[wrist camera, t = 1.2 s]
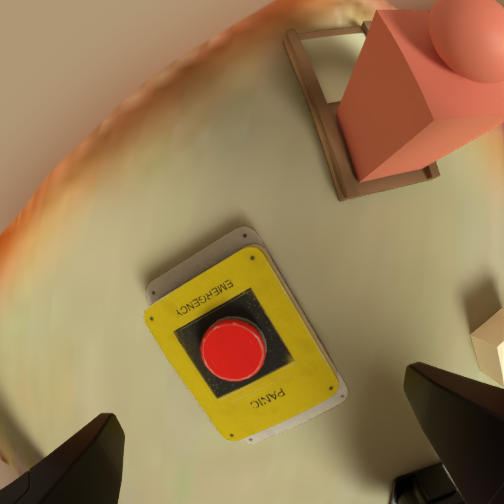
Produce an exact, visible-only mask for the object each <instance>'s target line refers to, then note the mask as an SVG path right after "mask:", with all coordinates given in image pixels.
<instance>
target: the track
mask: <svg viewBox="0 0 504 504" xmlns="http://www.w3.org/2000/svg"><path fill="white" fill-rule="evenodd" d="M371 23H372V22H371V21H363V24H362V26H361V27H351V28H340V29H331V30H322V31H314V32H307V33H301V34H297V32H296V30H295V29H289V30H286V36H283V44H284V46H285V48H286V51H287V53H288V55H289V58H290V60H291V63H292V65H293V68H294V70H295V72H296V75H297V77H298V80H299V83H300V85H301V88H302V90H303V93H304V95H305V98H306V101H307V103H308V106H309V109H310V112H311V114H312V117H313V120H314V123H315V126H316V128H317V131H318V134H319V137H320V140H321V143H322V146H323V149H324V152H325V155H326V158H327V161H328V165H329V168H330V171H331V174H332V178H333V181H334V184H335V187H336V191H337V194H338V198H339V201H344V200H348V199H352V198H356V197H361V196H365V195H369V194H373V193H377V192H381V191H385V190H390V189H394V188H398V187H402V186H407V185H411V184H415V183H419V182H424V181H428V180H432V179H434V178H436V177H438V176H440V173H439V170H438V167H437V164H436V161H435V162H433V163H431V164H429V165H428V166H426V167H424V168H422V169H419V170H414V171H409V172H405V173H400V174H396V175H391V176H387V177H382V178H378V179H373V180H369V181H365V182H360V183H359V182H358V179H357V176H356V173H355V170H354V166H353V163H352V160H351V157H350V154H349V151H348V148H347V145H346V142H345V140H344V137H343V134H342V131H341V128H340V126H339V123H338V120H337V117H336V115H335V114H336V112H337V109H338V107H339V104H340V102H341V99H342V97H343V95H344V92H345V90H346V87H347V85H348V82H349V80H350V77H351V74H352V72H353V69H354V67H355V64H356V62H357V59H358V57H359V54H360V52H361V49H362V46H363V44H364V41H365V39H366V36H367V33H368V31H369V28H370V26H371Z"/></svg>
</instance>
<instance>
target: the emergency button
mask: <svg viewBox="0 0 504 504" xmlns="http://www.w3.org/2000/svg"><path fill="white" fill-rule="evenodd" d="M146 296H147V299H148V302H149V304H150V306H149V307H148V308H147V309H146V310H145V313H144V320H145V323H146V325H147V326H148V328H149V330H150V332H151V333H152V335H153V336H154V338H155V340H156V341H157V343H158V345H159V346H160V348H161V349H162V351H163V353H164V354H165V356H166V357H167V359H168V361H169V362H170V364H171V365H172V367H173V368H174V370H175V371H176V373H177V374H178V376H179V377H180V379H181V380H182V382H183V383H184V385H185V386H186V388H187V389H188V390H189V392H190V393H191V395H192V396H193V398H194V399H195V400H196V402H197V403H198V405H199V406H200V407H201V409H202V410H203V412H204V413H205V414H206V416H207V417H208V418H209V420H210V421H211V422H212V424H213V425H214V426H215V428H216V429H217V430H218V432H219V433H220V434H221V435H222V437H224V438H225V439H226V440H230V441H238V440H242V441H243V442H245V443H249V444H254V443H258V442H261V441H263V440H266V439H268V438H270V437H273V436H275V435H277V434H280V433H282V432H284V431H286V430H289V429H291V428H293V427H295V426H297V425H299V424H302V423H304V422H306V421H308V420H310V419H312V418H314V417H316V416H318V415H320V414H322V413H324V412H326V411H328V410H330V409H332V408H333V407H335V406H337V405H339V404H341V403H342V402H343V401H344V400H345V399H346V398H347V395H348V390H347V386H346V384H345V382H344V381H343V379H342V377H341V375H340V374H339V372H338V370H337V368H336V367H335V365H334V363H333V361H332V360H331V358H330V356H329V355H328V353H327V351H326V349H325V348H324V346H323V344H322V342H321V341H320V339H319V337H318V336H317V334H316V332H315V330H314V329H313V327H312V325H311V324H310V322H309V320H308V318H307V317H306V315H305V313H304V312H303V310H302V308H301V306H300V305H299V303H298V301H297V300H296V298H295V296H294V295H293V293H292V291H291V290H290V288H289V286H288V284H287V283H286V281H285V279H284V278H283V276H282V274H281V273H280V271H279V269H278V268H277V266H276V264H275V262H274V261H273V259H272V257H271V256H270V254H269V252H268V251H267V249H266V247H265V246H264V244H263V242H262V241H261V239H260V237H259V236H258V234H257V233H256V232H255V231H254V230H253V229H252V228H249V227H246V226H243V227H239V228H236V229H234V230H233V231H231V232H230V233H228V234H226V235H225V236H223V237H221V238H220V239H218V240H216V241H215V242H213V243H212V244H210V245H208V246H207V247H205V248H204V249H202V250H200V251H199V252H197V253H196V254H194V255H192V256H191V257H189V258H188V259H186V260H184V261H183V262H181V263H180V264H178V265H176V266H175V267H173V268H172V269H170V270H168V271H167V272H165V273H164V274H162V275H161V276H159V277H157V278H156V279H154V280H153V281H151V282H150V283H149V284H148V286H147V287H146Z"/></svg>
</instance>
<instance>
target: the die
mask: <svg viewBox="0 0 504 504" xmlns="http://www.w3.org/2000/svg"><path fill="white" fill-rule="evenodd" d="M470 336H471V339H472V343H473V346H474V350H475V354H476V357H477V361H478V365H479V369H480V371H481V372H482V373H484V374H486V375H487V376H489V377H490V378H492V379H493V380H495V381H496V382H498V383H499V384H501V385H503V386H504V308H501V309H500V310H499V311H498V312H496V313H495V314H494V315H493V316H492V317H491V318H490V319H488V320H487V321H486V322H485V323H484V324H482V325H481V326H480V327H479V328H477V329H476V330H475V331H474V332H473V333H471V334H470Z"/></svg>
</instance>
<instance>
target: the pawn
mask: <svg viewBox="0 0 504 504" xmlns="http://www.w3.org/2000/svg"><path fill="white" fill-rule="evenodd" d="M335 115H336V117H337V120H338V123H339V126H340V128H341V131H342V134H343V137H344V140H345V142H346V145H347V148H348V151H349V154H350V157H351V160H352V163H353V166H354V170H355V173H356V176H357V179H358V182H359V183H360V182H365V181H369V180H373V179H378V178H382V177H387V176H391V175H396V174H400V173H405V172H409V171H414V170H419V169H422V168H424V167H426V166H428V165H429V164H431V163H433V162H435V161H437V160H438V159H440V158H442V157H444V156H446V155H447V154H449V153H451V152H453V151H454V150H456V149H458V148H460V147H461V146H463V145H465V144H467V143H469V142H470V141H472V140H474V139H476V138H477V137H479V136H481V135H483V134H484V133H486V132H488V131H490V130H491V129H493V128H495V127H497V126H499V125H500V124H502V123H504V8H503V7H502V6H501V5H500V4H499V3H498V2H496V1H495V0H436V1H435V3H434V4H433V6H432V8H431V10H430V12H429V11H413V10H376V12H375V15H374V18H373V20H372V23H371V26H370V28H369V31H368V33H367V36H366V39H365V41H364V44H363V46H362V49H361V52H360V54H359V57H358V59H357V62H356V64H355V67H354V69H353V72H352V74H351V77H350V80H349V82H348V85H347V87H346V90H345V92H344V95H343V97H342V99H341V102H340V104H339V107H338V109H337V112H336V114H335Z"/></svg>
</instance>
